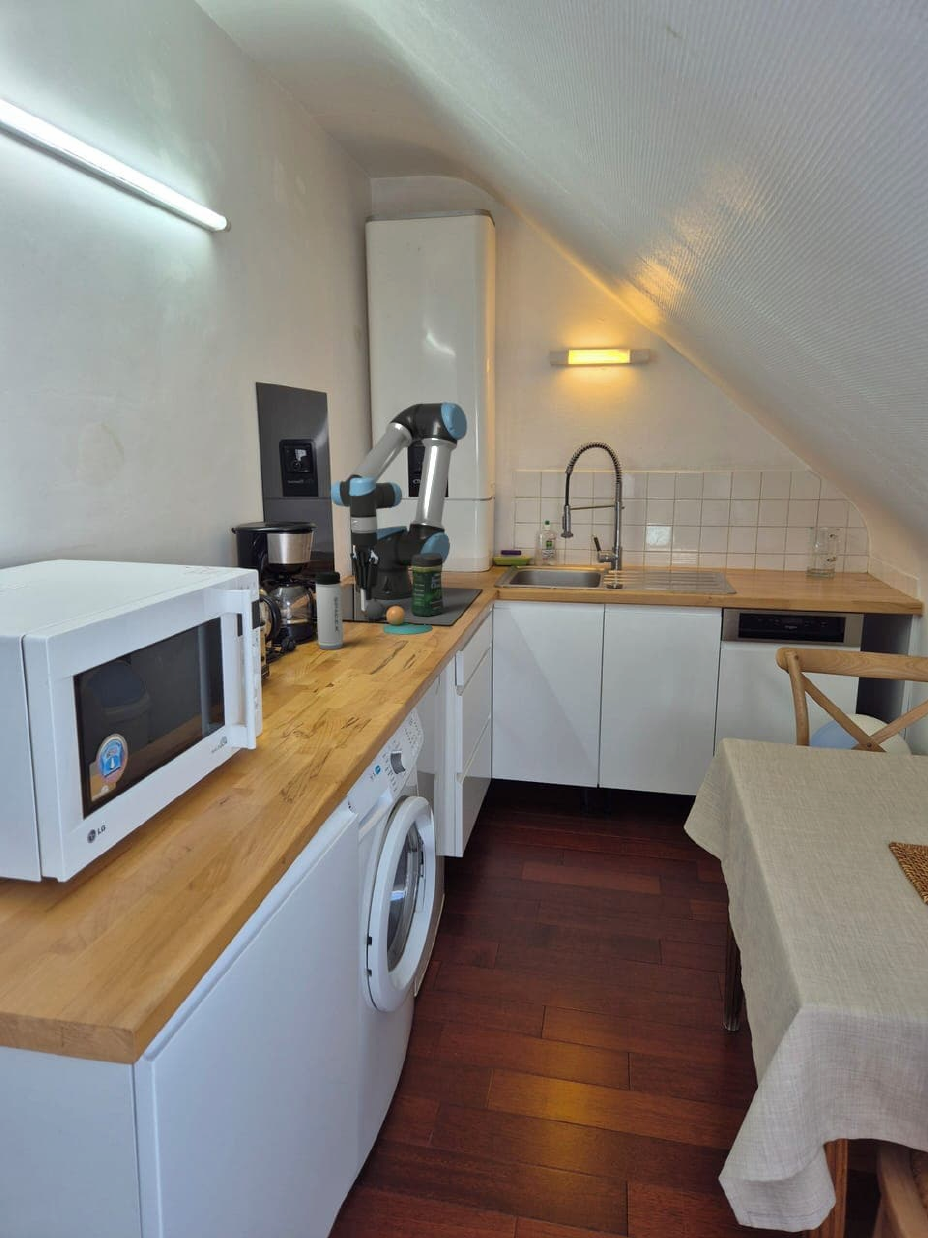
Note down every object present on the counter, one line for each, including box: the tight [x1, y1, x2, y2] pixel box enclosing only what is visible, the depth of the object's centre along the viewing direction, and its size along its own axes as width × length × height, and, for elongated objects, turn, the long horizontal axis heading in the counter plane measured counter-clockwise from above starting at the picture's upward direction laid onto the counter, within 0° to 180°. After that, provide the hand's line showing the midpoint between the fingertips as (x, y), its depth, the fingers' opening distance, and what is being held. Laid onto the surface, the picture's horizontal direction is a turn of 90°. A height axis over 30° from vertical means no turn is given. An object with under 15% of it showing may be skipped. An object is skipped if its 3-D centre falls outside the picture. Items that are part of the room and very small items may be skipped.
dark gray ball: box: [365, 600, 385, 621], centre depth 241 cm, size 6×6×6 cm
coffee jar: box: [410, 553, 444, 617], centre depth 247 cm, size 10×8×19 cm
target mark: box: [381, 623, 433, 635], centre depth 231 cm, size 14×14×1 cm
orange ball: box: [385, 605, 407, 625], centre depth 234 cm, size 6×6×6 cm
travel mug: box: [313, 569, 344, 651], centre depth 209 cm, size 6×7×20 cm
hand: (366, 610), depth 246 cm, fingers closed
